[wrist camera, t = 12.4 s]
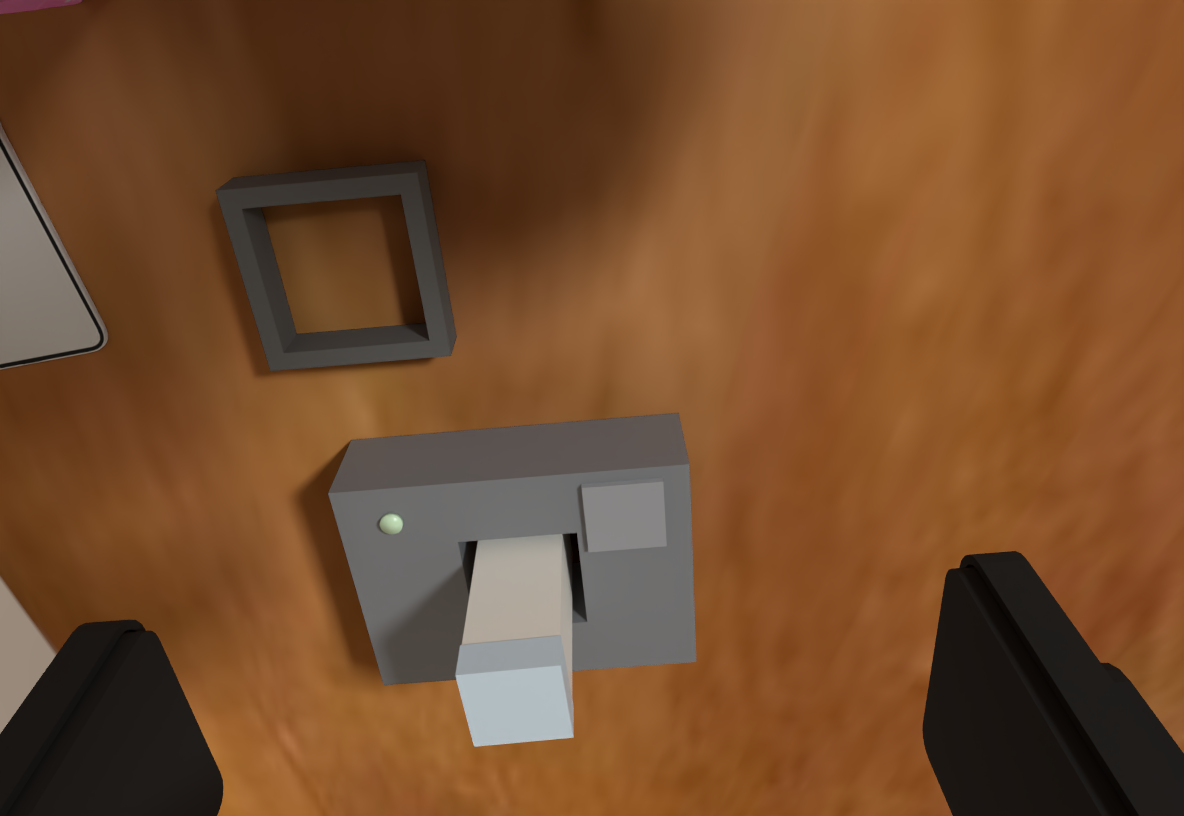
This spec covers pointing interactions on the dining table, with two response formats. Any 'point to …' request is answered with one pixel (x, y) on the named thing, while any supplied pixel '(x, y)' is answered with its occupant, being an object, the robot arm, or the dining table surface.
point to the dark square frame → (266, 286)
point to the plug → (518, 641)
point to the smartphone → (38, 279)
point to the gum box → (32, 5)
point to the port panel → (522, 535)
